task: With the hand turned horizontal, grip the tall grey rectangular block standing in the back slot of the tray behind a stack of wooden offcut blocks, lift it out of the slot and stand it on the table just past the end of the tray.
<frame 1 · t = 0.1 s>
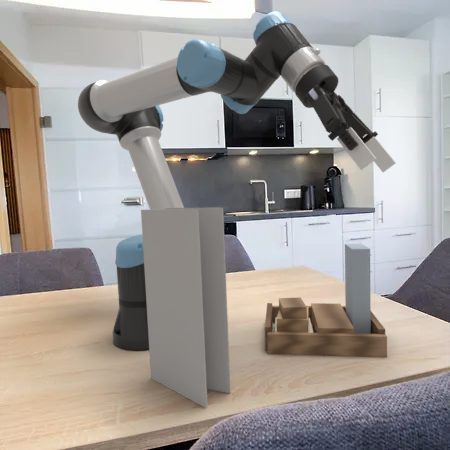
hand: (380, 166, 61), 36 cm above the table, tool tilted 35°, fingers open, 13 cm apart
grey rectangular block: (357, 337, 78), on the table
offcut top: (292, 313, 79), point 5 cm above the table, touching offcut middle
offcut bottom: (293, 339, 80), on the table, touching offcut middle
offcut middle: (293, 325, 80), point 2 cm above the table, touching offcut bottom, offcut top
tray: (324, 336, 79), on the table
brochure: (189, 386, 61), on the table
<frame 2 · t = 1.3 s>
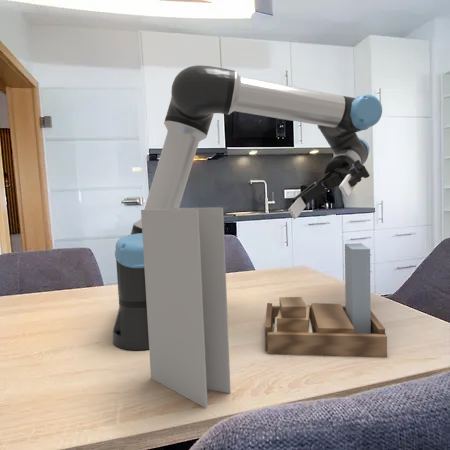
hand: (316, 203, 79), 29 cm above the table, tool tilted 65°, fingers open, 13 cm apart
nothing on the table moved.
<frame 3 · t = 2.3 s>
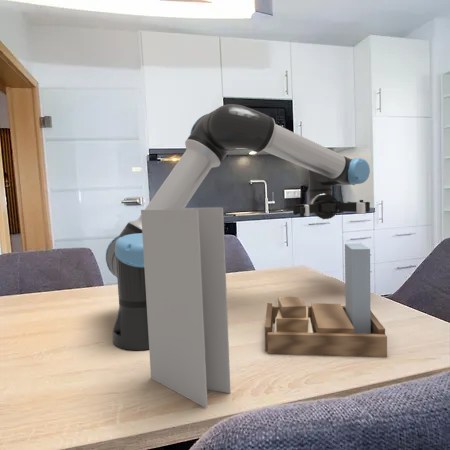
hand: (335, 209, 90), 27 cm above the table, tool horizontal, fingers open, 13 cm apart
nothing on the table moved.
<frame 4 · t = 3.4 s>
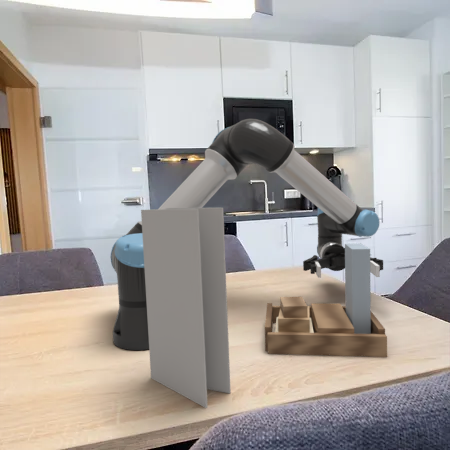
hand: (348, 271, 86), 12 cm above the table, tool horizontal, fingers open, 13 cm apart
nothing on the table moved.
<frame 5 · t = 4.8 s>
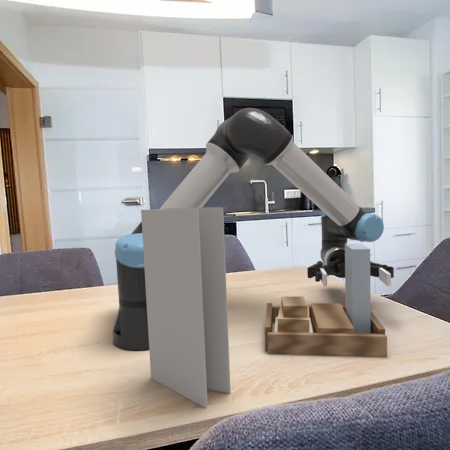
hand: (356, 280, 80), 12 cm above the table, tool horizontal, fingers open, 13 cm apart
offcut top: (294, 312, 79), point 5 cm above the table
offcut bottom: (293, 338, 79), on the table
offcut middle: (294, 325, 79), point 2 cm above the table
everything else where it was.
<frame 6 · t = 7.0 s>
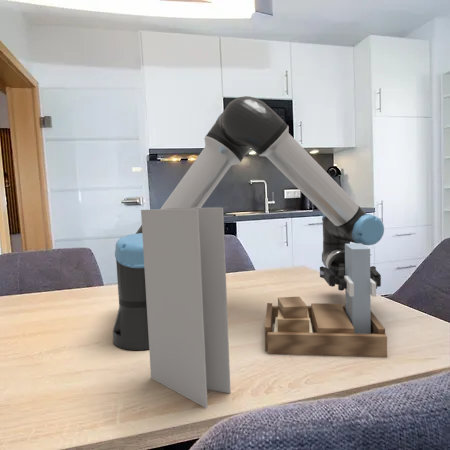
hand: (362, 289, 71), 12 cm above the table, tool horizontal, fingers closed on grey rectangular block, 3 cm apart
grey rectangular block: (357, 337, 78), on the table, touching gripper
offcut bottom: (293, 338, 79), on the table, touching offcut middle
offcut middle: (293, 325, 79), point 2 cm above the table, touching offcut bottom
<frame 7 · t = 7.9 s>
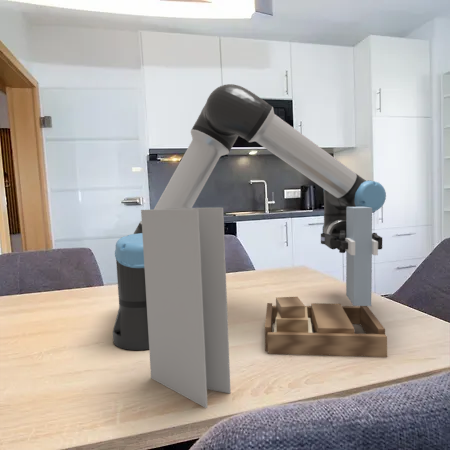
hand: (364, 248, 71), 20 cm above the table, tool horizontal, fingers closed on grey rectangular block, 3 cm apart
grey rectangular block: (358, 300, 77), point 8 cm above the table, touching gripper
offcut top: (290, 312, 79), point 5 cm above the table, touching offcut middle
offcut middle: (292, 325, 79), point 2 cm above the table, touching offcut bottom, offcut top
everything else where it was.
when the fingers open (13 cm above the table, at t = 12.2 s): grey rectangular block drops 1 cm, on the table.
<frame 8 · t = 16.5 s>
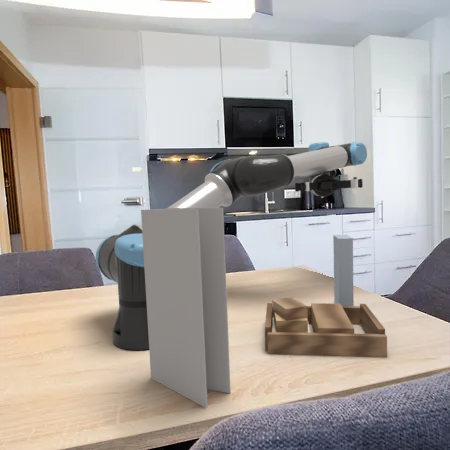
hand: (332, 185, 103), 34 cm above the table, tool horizontal, fingers open, 13 cm apart
grey rectangular block: (343, 311, 94), on the table
at the end: grey rectangular block inside the target area (1.5 cm from its centre), on the table; grey rectangular block moved 17.0 cm from its start; the gripper is holding nothing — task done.
